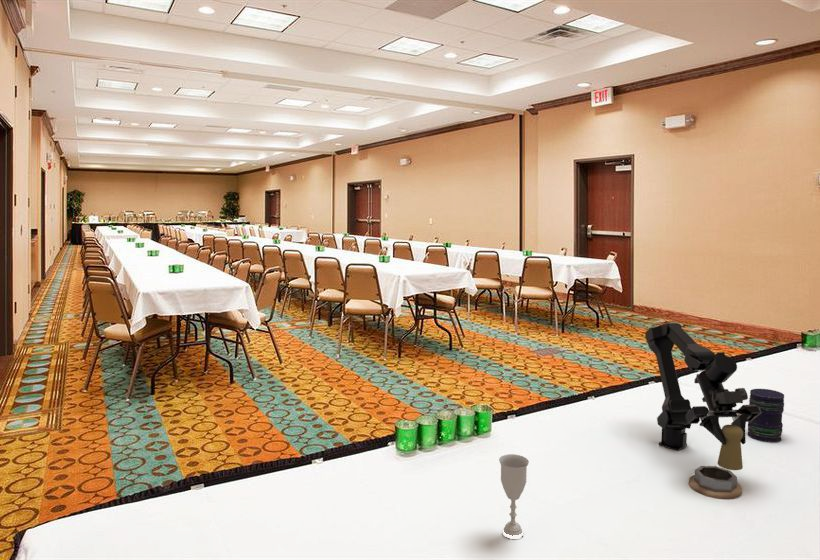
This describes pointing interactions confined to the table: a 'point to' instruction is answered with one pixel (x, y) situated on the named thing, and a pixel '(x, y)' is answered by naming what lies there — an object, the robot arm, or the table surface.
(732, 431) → the cork
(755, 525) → the table surface
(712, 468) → the coupling socket
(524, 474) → the chalice
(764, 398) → the storage jar
